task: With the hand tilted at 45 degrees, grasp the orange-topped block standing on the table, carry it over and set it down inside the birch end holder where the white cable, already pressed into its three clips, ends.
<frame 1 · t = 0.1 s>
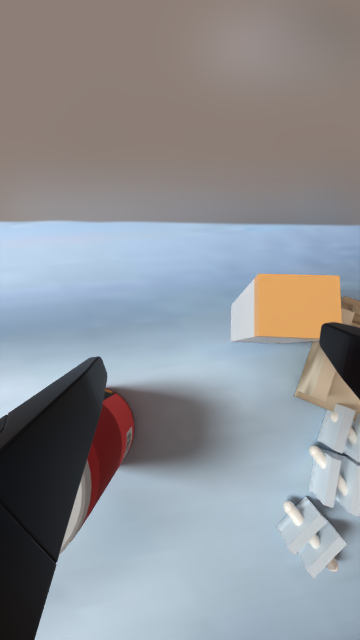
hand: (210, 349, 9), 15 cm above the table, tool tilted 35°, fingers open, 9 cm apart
canned food: (101, 424, 23), on the table
orange-topped block: (254, 323, 24), on the table
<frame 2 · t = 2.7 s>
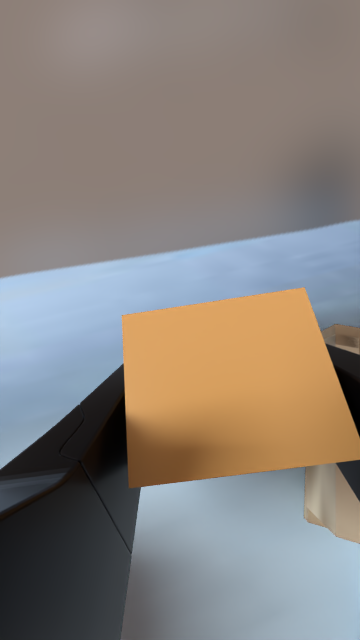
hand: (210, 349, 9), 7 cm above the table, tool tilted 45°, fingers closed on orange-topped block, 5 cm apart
orange-topped block: (209, 390, 15), on the table, touching gripper
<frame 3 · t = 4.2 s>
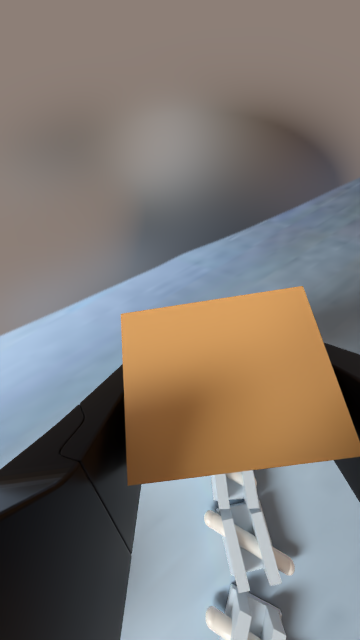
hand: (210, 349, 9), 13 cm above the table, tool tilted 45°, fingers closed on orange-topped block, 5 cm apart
orange-topped block: (208, 389, 15), point 7 cm above the table, touching gripper
when the fingers open (8 cm above the table, at t = 5.7 s): orange-topped block stays where it is, resting on holder.
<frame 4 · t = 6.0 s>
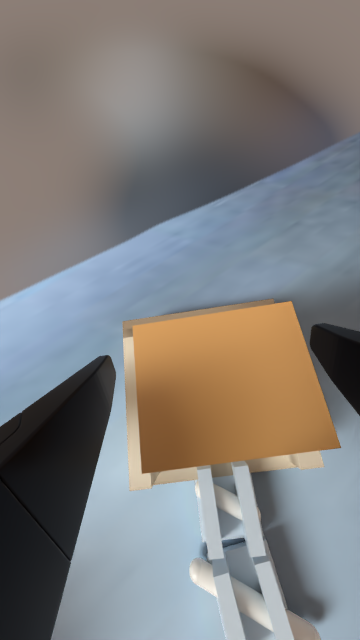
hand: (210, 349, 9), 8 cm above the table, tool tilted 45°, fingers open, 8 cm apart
holder: (208, 390, 16), on the table
orange-topped block: (209, 390, 16), resting on holder
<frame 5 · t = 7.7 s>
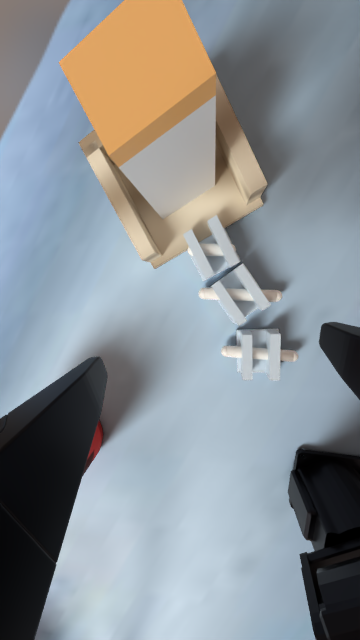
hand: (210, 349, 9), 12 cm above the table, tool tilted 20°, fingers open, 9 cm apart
holder: (177, 183, 19), on the table
canned food: (74, 426, 25), on the table
orange-topped block: (176, 180, 18), resting on holder
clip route: (326, 480, 21), on the table
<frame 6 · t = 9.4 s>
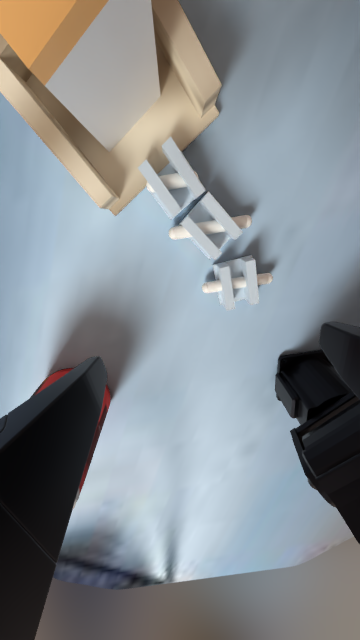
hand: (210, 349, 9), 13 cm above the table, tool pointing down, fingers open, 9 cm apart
holder: (115, 100, 15), on the table
canned food: (79, 390, 27), on the table
orange-topped block: (113, 95, 15), resting on holder
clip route: (303, 373, 26), on the table
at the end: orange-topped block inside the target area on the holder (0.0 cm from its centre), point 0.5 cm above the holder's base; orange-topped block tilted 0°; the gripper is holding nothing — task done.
